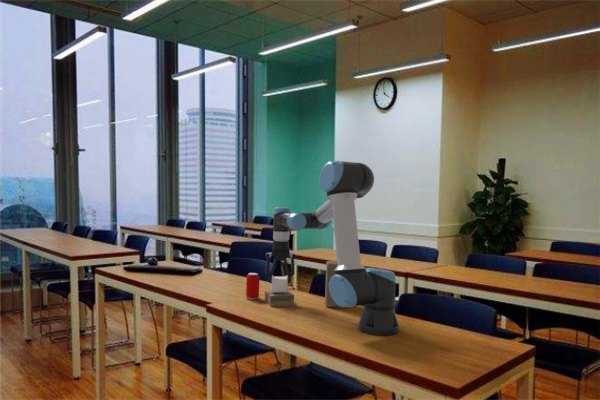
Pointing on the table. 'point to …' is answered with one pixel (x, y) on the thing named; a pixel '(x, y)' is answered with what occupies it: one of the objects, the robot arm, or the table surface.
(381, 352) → the table surface
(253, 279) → the beverage can
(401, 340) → the table surface
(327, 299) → the wooden block
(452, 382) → the table surface
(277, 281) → the cream cube
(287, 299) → the walnut block
